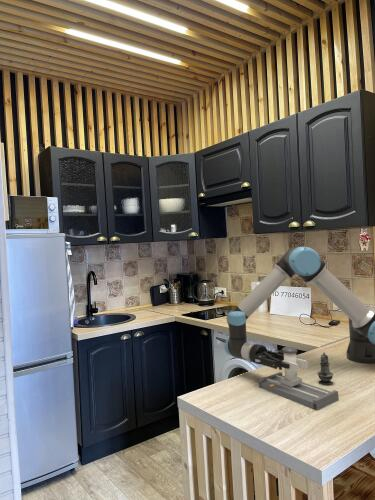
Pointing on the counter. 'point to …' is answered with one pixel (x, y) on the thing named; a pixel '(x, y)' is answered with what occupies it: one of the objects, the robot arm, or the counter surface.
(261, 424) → the counter surface
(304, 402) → the console
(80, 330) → the counter surface
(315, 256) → the robot arm
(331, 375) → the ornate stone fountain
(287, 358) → the fader
